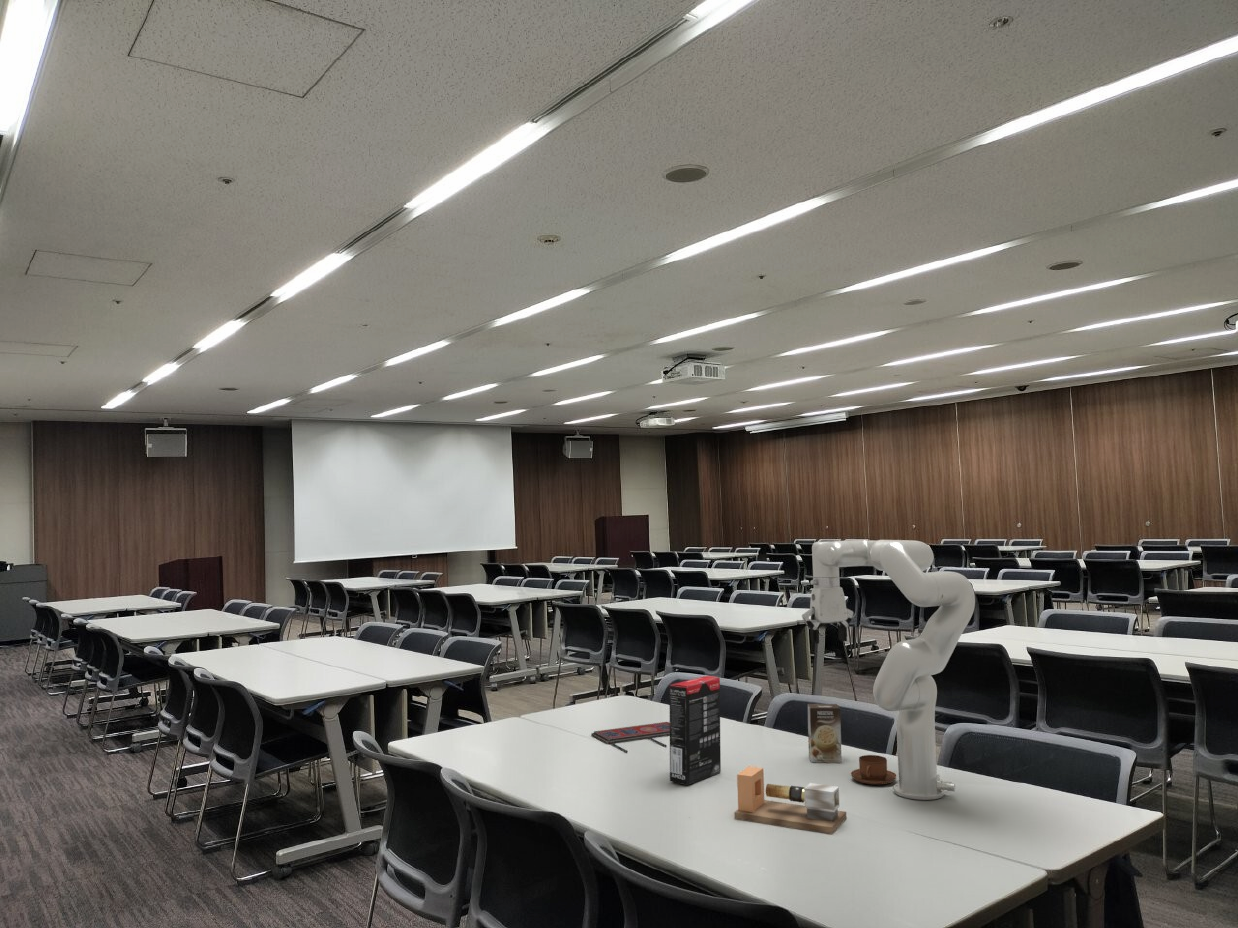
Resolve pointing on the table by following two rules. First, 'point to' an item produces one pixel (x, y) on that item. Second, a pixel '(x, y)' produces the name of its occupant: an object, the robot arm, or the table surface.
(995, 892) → the table surface
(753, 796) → the socket
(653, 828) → the table surface
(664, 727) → the sign
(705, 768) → the graphics card box
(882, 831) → the table surface
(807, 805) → the rig
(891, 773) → the cup and saucer
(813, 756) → the coffee box
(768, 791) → the brass tube
